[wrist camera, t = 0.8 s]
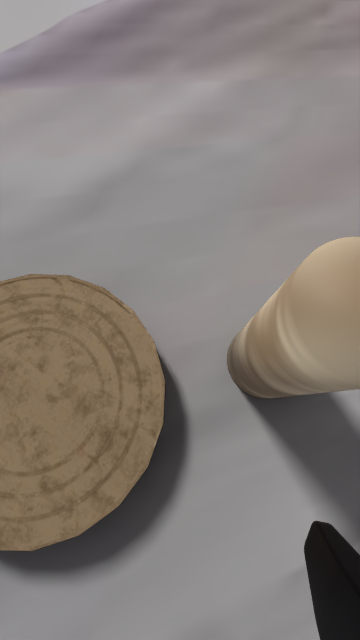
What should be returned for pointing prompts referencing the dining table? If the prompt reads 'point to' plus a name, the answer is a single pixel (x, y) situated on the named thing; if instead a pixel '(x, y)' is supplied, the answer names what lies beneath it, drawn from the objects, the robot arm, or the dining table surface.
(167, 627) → the dining table surface
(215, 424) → the dining table surface
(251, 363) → the dome-topped beige peg
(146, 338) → the ringed beige coaster
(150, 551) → the dining table surface
